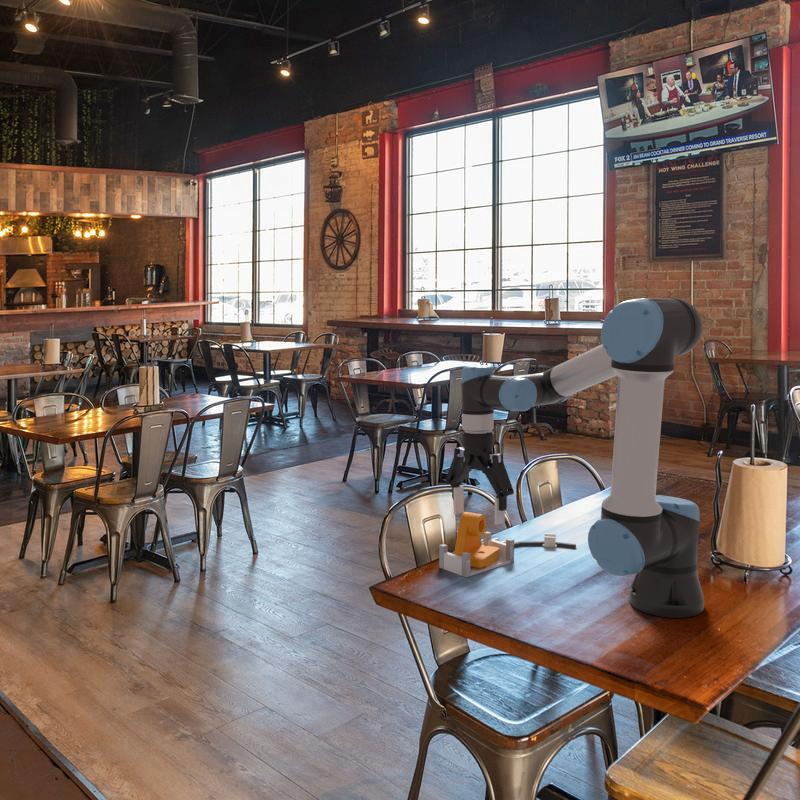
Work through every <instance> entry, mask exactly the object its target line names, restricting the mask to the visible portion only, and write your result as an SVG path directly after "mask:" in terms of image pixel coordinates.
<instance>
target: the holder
mask: <svg viewBox="0 0 800 800" xmlns="http://www.w3.org/2000/svg"><path fill="white" fill-rule="evenodd" d="M482 539H483V542H482V543H483V544H482V545H487V546H493V547H498V548H499V557H497V558H496V562H494V563H493V564H491V565H490V566H489V567H487V568H482V567H481V568H478V567H473V566H470V553H469V552H463V553H462V557H461V556H458V555H455V554H454V553H452V552H449V551H448V548H449V547H448V545H447V544H444V543H443V544H438V545H439V546H438V549H439V550H438V555H439V557H438V559H439V561H438V563H439V564H438V567H439V568H440V569H442V570H445V571H447V572H450V573H454V574H455V575H458V576H460V577H463V578H468V577H472V576H476V575H478V574H481V573H484V572H486V571H490V570H493V569H496V568H499V567H502V566H503V567H504V566H505V565H509V564H511V563H514V562H515V547H514V542H515V538H514V539H513V538H507V539H505V540H506V543H503V542H501V541H500V540H499V541H496V540H493V539H494V538H492V531H491V532H490V531H485V532H484V534H483V536H482Z"/></svg>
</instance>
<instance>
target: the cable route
mask: <svg viewBox="0 0 800 800" xmlns="http://www.w3.org/2000/svg"><path fill="white" fill-rule="evenodd" d="M556 534H557V533H550V532H544V537H543V538H544V540H542V541H541V540H540V541H539V540H537V541H536V540H533V541H532V540H528V541H526V540H525V541H524V540H523V541H522V540H521V541H514V548H517V547H528V546H529V547H531V546H532V547H533V546H534V547H535V546H537V547H539V546H542V547H543V548H558V547H559V548H568V549H577V544H576V543H568V542H562V541H557V540H556V538H557V537H556V536H557V535H556ZM492 539H493V540H496V541H500V537H495V538H492ZM500 542H503V543H506V539H505V540H502V541H500Z"/></svg>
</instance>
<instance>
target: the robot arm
mask: <svg viewBox="0 0 800 800" xmlns="http://www.w3.org/2000/svg"><path fill="white" fill-rule="evenodd" d="M703 329H704V325H703V319H702V316H701V314H700V312H699V310H698V309H697V308H696V306H694V305H693V304H692V303H691V302H689V301H687V300H685V299H682V298H678V297H665V298H664V297H663V298H662V297H661V298H659V297H657V298H654V297H653V298H645V297H642V298H634V299H628V300H624V301H622V302H619V303H618V304H617V305H615V306H613V308H612V309H611V310H610V311H609V312H608V313H607V315H606V316H605V318H604V320H603V323H602V325H601V331H600V332H601V333H600V340H601V344H599V345H598V346H596V347H595V346H594V347H593V348H591V349H589V350H587V351H584V352H582V353H581V354H579V355H577V356H575V357H573V358H570V359H568V360H566V361H564V362H561V363H559V364H557V365H555V366H554V367H552V368H549V369H547V370H545V371H542V372H539V373H537V372H536V373H532V374H531V373H530V374H521V375H519V374H518V375H512V376H510V375H509V376H507V375H505V376H504V375H503V376H502V375H495V373H494V368H493V366H491V365H487V364H486V365H484V364H478V365H477V364H474V365H471V364H470V365H466V366H464V367H463V368H462V369H461V379H460V380H461V382H460V387H461V388H460V389H461V429H462V430H463V431H462V433H461V438H462V439H461V440H462V441H461V445H462V446H459V447H456V448H454V450H453V451H454V452H453V458H452V461H451V464H450V466H449V469H448V472H447V474H446V477H445V481H444V482H445V483H446V484H449V485H450V487H451V498H452V500H453V514H454V515H458V514H463V513H464V512H465V509H464V507H465V506H464V505H465V504H464V500H465V499H464V498H465V497H464V488H465V487H464V485H463V482H464V481H465V479H466V477H467V476H468V475H469V473H470V472H471V470H477V471H481V472H482V474H484V475H485V477H486V478H487V481H488V482H489V484H490V485H491V487H492V489H493V491H494V493H495V496H494V525H495V526H498V525H502V524H505V523H506V510H507V508H508V506H507V505H508V502H507V501H508V500H507V499H508V498H507V497H508V496H512V495H514V493H515V491H514V489H513V486H512V485H513V484H512V482H511V479H510V477H509V475H508V471H507V468H506V466H505V463H504V454H503V453H493V448H494V446H495V432H494V429H495V428H494V424H495V423H494V421H495V420H494V416H495V415H494V413H495V412H494V411H495V409H497V410H498V409H499V410H505V411H511V412H513V413H514V412H515V413H516V412H527V411H529V410H530V409H531V408H532V407H533V408H534V407H537V406H538V407H539V406H544V405H545V406H546V405H556V404H559V403H563V402H565V401H567V400H568V399H569V398H570V396H571V395H574V394H576V393H579V392H581V391H583V390H586V389H588V388H591V387H593V386H596V385H598V384H600V383H602V382H605V381H607V380H610V379H612V378H614V377H618V378H617V392H616V393H617V394H616V408H615V421H614V424H615V425H614V434H613V435H614V436H613V437H614V438H613V452H612V466H611V468H612V469H611V483H610V493H609V496H608V497H606V498H605V499H603V500H602V502H601V510H600V511H601V512H600V519H598V520H596V521H595V522H594V524H592V525H591V527H590V528H589V531H588V534H587V543H588V549H589V552H590V555H591V556H592V558H593V559H594V560H595V561H596V563H597V565H598V566H599V567H600V568H601V569H602V570H604V572H606V573H608V574H610V575H613V576H617V577H626V576H630V575H634V578H633V581H632V583H631V586H630V587H629V596H628V597H629V599H628V600H629V603H630V605H631V606H632V607H633V608H635V609H636V610H638V611H641V612H642V613H645V614H649V615H652V616H656V617H663V618H671V619H672V618H673V619H678V618H679V619H682V618H683V619H684V618H690V617H695V616H698V615H700V614H701V613H703V611H704V610H705V596H704V592H703V589H702V586H701V583H700V579H699V575H698V556H699V555H698V554H699V535H700V523H701V520H700V519H701V518H700V508H699V506H698V505H697V503H695V502H693V501H692V500H688V499H685V498H680V497H676V496H669V495H661V494H659V495H658V494H656V493H657V483H658V481H657V480H658V467H659V458H660V457H659V455H660V444H661V443H660V442H661V431H662V430H661V429H662V419H663V418H662V417H663V404H664V392H665V383H666V382H665V380H666V379H667V378H668V377H669V376H670V375H672V374H673V373H674V371H675V362H676V361H675V360H676V358H675V357H679V356H684V355H686V354H688V353H689V352H691V351H692V350H694V348H696V347H697V345H698V344H699V342H700V341H701V338H702V336H703V331H704V330H703ZM464 459H465V460H464Z"/></svg>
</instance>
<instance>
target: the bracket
mask: <svg viewBox="0 0 800 800" xmlns="http://www.w3.org/2000/svg"><path fill="white" fill-rule="evenodd" d="M486 529H487V517H486V515H485V514H483V513H474V512H470V511H464V512H463V513H461V515H460V519H459V521H458V528H457V534H456V540H455V547H454V551H453V554H455V555H458V556H461V557H462V553H463V552H469V553H470V566H473V567H478V568H481V567H482V568H487V567H489V566H490V565H491V564H493V563H494V562H496V558H497V557H499V548H498V547H493V546H487V545H483V544H482V543H483V542H482V539H481V537H483V534H484V532H486Z"/></svg>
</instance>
